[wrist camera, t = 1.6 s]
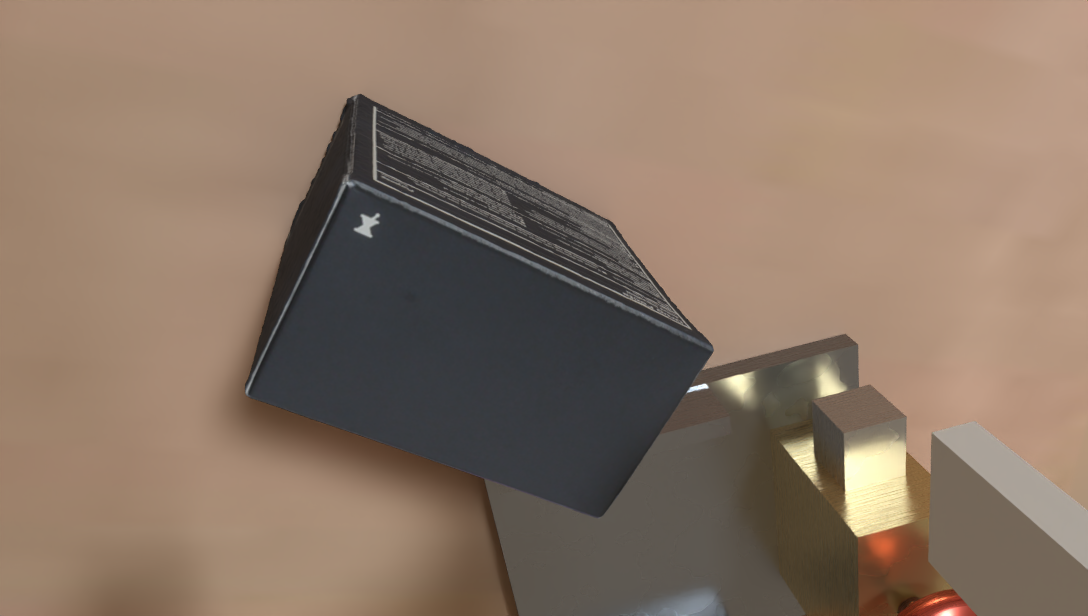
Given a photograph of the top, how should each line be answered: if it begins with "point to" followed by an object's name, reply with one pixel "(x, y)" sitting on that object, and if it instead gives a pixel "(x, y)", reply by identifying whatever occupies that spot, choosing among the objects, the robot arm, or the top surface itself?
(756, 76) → the top surface
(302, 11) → the top surface
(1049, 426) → the top surface
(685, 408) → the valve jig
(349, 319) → the small box
